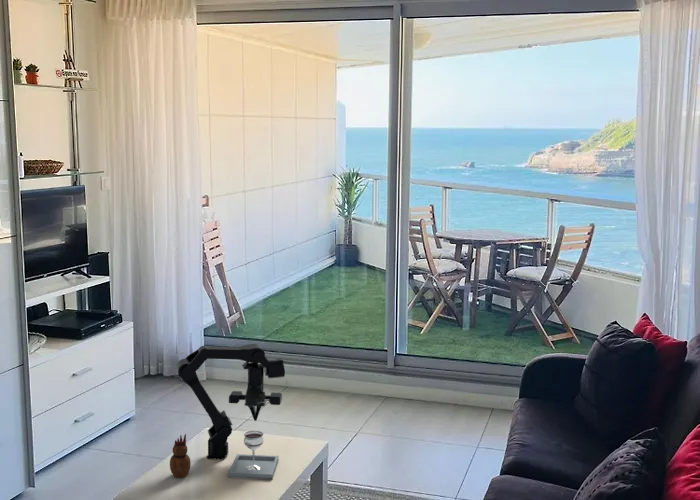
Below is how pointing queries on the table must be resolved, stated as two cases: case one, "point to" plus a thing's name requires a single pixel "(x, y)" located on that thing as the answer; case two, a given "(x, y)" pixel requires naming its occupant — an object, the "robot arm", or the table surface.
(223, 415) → the robot arm
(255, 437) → the wineglass
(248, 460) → the serving tray
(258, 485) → the table surface
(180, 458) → the wooden figurine
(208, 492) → the table surface
